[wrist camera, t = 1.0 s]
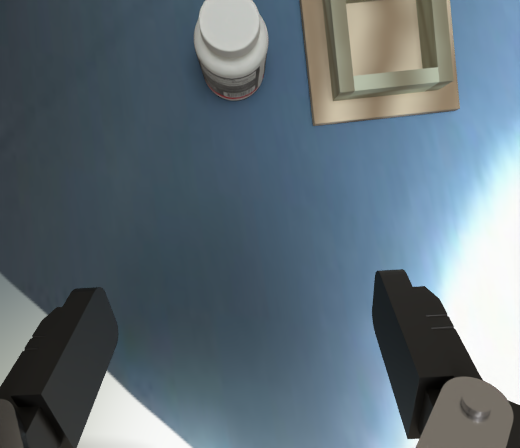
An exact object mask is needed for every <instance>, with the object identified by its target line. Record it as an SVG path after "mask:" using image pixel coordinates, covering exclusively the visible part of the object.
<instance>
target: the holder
mask: <svg viewBox="0 0 520 448" xmlns="http://www.w3.org/2000/svg"><path fill="white" fill-rule="evenodd" d="M300 8H301V18H302V27H303V36H304V46H305V55H306V64H307V73H308V83H309V92H310V101H311V111H312V120H313V126H318V125H327V124H336V123H345V122H355V121H364V120H373V119H383V118H392V117H401V116H410V115H420V114H429V113H438V112H447V111H455V110H458V109H460V106H459V95H458V84H457V73H456V62H455V51H454V41H453V30H452V19H451V8H450V0H300Z"/></svg>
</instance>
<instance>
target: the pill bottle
mask: <svg viewBox="0 0 520 448" xmlns="http://www.w3.org/2000/svg"><path fill="white" fill-rule="evenodd" d="M194 45H195V51H196V54H197V57H198V60H199V63H200V66H201V69H202V72H203V75H204V78H205V81H206V83H207V85H208V86H209V88H210V89H211V90H212V91H213V92H214V93H215V94H216V95H217V96H219V97H221V98H224V99H226V100H231V101H236V100H242V99H245V98H247V97H249V96H251V95H252V94H253V93H254V92H255V91H256V90H257V89H258V88H259V86H260V84H261V82H262V80H263V76H264V71H265V62H266V55H267V50H268V32H267V28H266V25H265V23H264V20H263V19H262V17H261V16H260V14H259V12H258V10H257V7H256V5H255V4H254V2H253V1H252V0H206V1H205V2H204V3H203V5H202V7H201V10H200V13H199V19H198V22H197V24H196V27H195V32H194Z"/></svg>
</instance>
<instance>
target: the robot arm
mask: <svg viewBox="0 0 520 448" xmlns="http://www.w3.org/2000/svg"><path fill="white" fill-rule="evenodd" d="M372 318H373V326H374V331H375V334H376V337H377V341H378V344H379V347H380V350H381V354H382V357H383V360H384V363H385V367H386V370H387V373H388V376H389V380H390V383H391V386H392V390H393V393H394V396H395V399H396V403H397V406H398V409H399V412H400V416H401V419H402V422H403V425H404V429H405V432H406V435H407V439H419V438H420V439H419V441H418V444H417V446H416V448H520V405H518V404H515V403H513V402H510V401H508V400H507V399H506V397H505V396H504V395H503V394H502V393H501V392H500V391H499V390H498V389H496V388H495V387H494V386H492V385H491V384H489V383H487V382H485V381H483V380H482V378H481V376H480V375H479V373H478V371H477V369H476V367H475V365H474V363H473V362H472V360H471V358H470V356H469V354H468V352H467V350H466V348H465V346H464V345H463V343H462V341H461V339H460V337H459V335H458V333H457V331H456V330H455V329H454V326H453V324H452V322H451V320H450V318H449V317H447V313H446V311H445V309H444V307H443V305H442V303H441V301H440V299H439V298H438V297H437V296H435V295H434V294H433V293H432V292H431V291H430V290H428V289H427V288H426V287H425V286H422V287H412V285H411V282H410V280H409V278H408V276H407V274H406V272H405V271H404V270H403V269H401V270H384V271H377V272H376V274H375V283H374V295H373V306H372ZM32 336H33V338H32V339H30V340H29V342H28V343H27V345H26V347H25V351H23V352H22V353H21V355H20V356H19V358H18V359H17V361H16V363H15V364H14V366H13V367H12V369H11V371H10V372H9V374H8V376H7V377H6V379H5V380H4V382H3V383H2V385H1V386H0V448H77V445H78V443H79V440H80V437H81V435H82V432H83V429H84V427H85V425H86V422H87V419H88V417H89V414H90V412H91V409H92V407H93V404H94V401H95V399H96V396H97V394H98V391H99V389H100V386H101V383H102V381H103V378H104V376H105V373H106V371H107V368H108V365H109V363H110V360H111V358H112V355H113V353H114V350H115V347H116V345H117V341H118V325H117V322H116V319H115V317H114V314H113V311H112V309H111V306H110V303H109V301H108V298H107V296H106V293H105V291H104V289H103V288H101V287H96V288H80V289H74V290H73V291H72V292H71V294H70V295H69V297H68V299H67V300H66V302H65V304H64V305H63V307H57V308H55V309H54V310H53V311H52V312H51V313H50V314H49V315H48V316H47V317H45V318H44V319H43V320H42V321H41V323H40V324H39V326H38V327H37V329H36V331H35V332H34V334H33V335H32Z"/></svg>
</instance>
